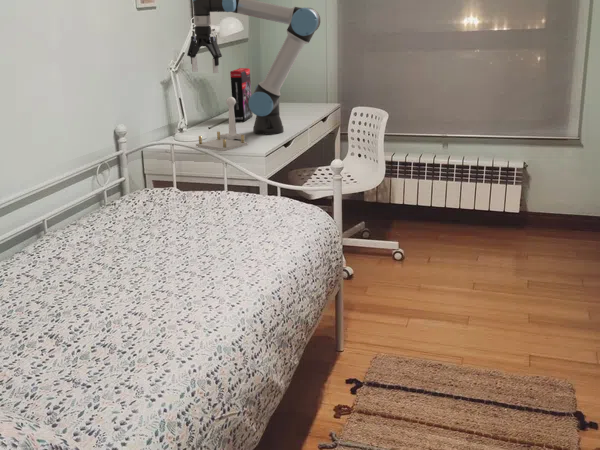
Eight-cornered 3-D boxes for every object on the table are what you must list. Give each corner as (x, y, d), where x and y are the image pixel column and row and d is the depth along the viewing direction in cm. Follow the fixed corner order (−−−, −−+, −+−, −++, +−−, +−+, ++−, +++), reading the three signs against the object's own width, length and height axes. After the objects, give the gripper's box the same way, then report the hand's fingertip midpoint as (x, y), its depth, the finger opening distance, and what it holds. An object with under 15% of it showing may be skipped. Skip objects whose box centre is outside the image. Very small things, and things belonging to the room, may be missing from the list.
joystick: (245, 138, 330) (243, 96, 324) (239, 141, 324) (237, 98, 317) (224, 137, 334) (221, 95, 328) (217, 140, 327) (215, 98, 321)
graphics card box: (244, 122, 374) (242, 71, 366) (232, 122, 376) (229, 71, 367) (252, 117, 390) (250, 67, 382) (241, 117, 392) (238, 67, 383)
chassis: (220, 140, 326) (219, 131, 325) (247, 144, 317) (247, 134, 315) (196, 146, 314) (195, 136, 313) (223, 150, 304) (222, 140, 303)
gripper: (177, 25, 325) (181, 71, 332) (216, 26, 311) (219, 74, 318) (189, 25, 331) (192, 70, 338) (227, 25, 317) (230, 72, 323)
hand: (205, 72), depth 328 cm, fingers open, 13 cm apart
